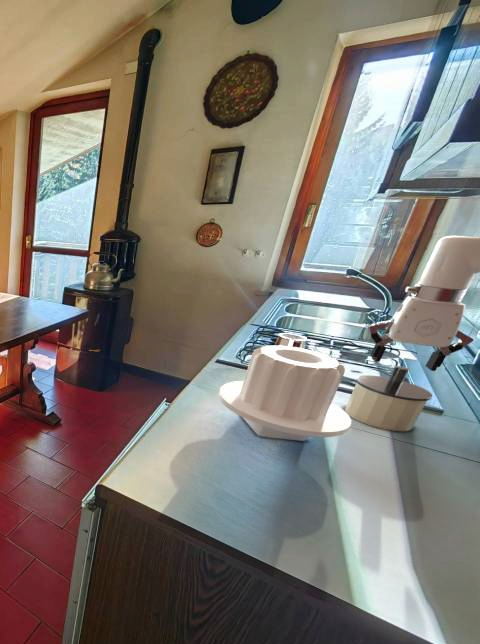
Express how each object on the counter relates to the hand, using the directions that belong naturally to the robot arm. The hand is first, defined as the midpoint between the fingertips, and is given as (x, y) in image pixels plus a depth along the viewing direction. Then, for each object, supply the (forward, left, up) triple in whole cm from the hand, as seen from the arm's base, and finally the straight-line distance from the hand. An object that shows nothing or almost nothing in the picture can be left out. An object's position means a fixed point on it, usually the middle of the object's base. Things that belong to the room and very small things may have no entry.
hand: (401, 364), depth 94 cm
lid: (0, 0, -6) cm, 6 cm away
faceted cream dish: (0, 0, -15) cm, 15 cm away
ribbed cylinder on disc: (+24, +20, -15) cm, 34 cm away
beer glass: (+20, -12, -15) cm, 28 cm away
